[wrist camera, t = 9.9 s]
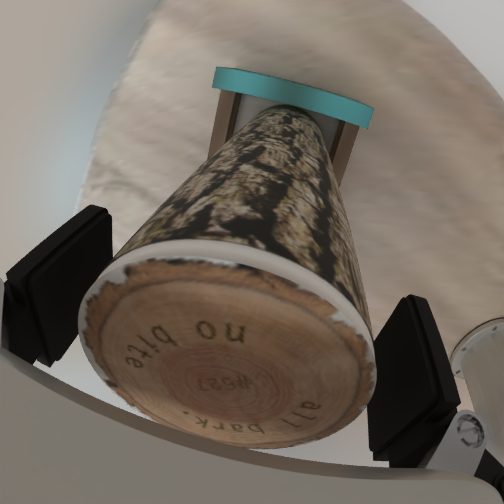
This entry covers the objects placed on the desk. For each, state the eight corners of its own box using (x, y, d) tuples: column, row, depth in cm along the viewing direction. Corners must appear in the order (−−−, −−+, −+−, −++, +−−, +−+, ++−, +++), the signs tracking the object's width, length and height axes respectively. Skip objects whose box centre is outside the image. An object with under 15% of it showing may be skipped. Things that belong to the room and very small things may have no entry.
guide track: (359, 101, 24) (374, 108, 19) (293, 291, 36) (290, 328, 31) (233, 68, 25) (216, 66, 20) (196, 265, 36) (179, 298, 31)
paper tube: (330, 166, 28) (380, 439, 7) (260, 183, 30) (166, 444, 9) (310, 95, 25) (356, 207, 4) (237, 116, 27) (29, 287, 6)
